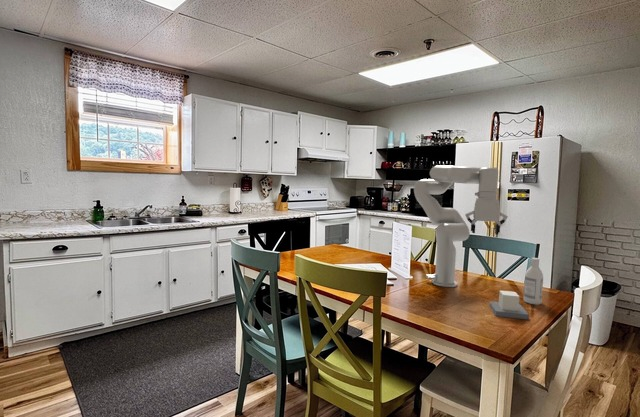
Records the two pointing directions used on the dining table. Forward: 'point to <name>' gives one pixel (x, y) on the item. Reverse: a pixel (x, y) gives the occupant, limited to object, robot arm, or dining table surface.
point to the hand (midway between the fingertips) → (484, 233)
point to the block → (509, 300)
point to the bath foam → (533, 283)
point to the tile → (508, 311)
